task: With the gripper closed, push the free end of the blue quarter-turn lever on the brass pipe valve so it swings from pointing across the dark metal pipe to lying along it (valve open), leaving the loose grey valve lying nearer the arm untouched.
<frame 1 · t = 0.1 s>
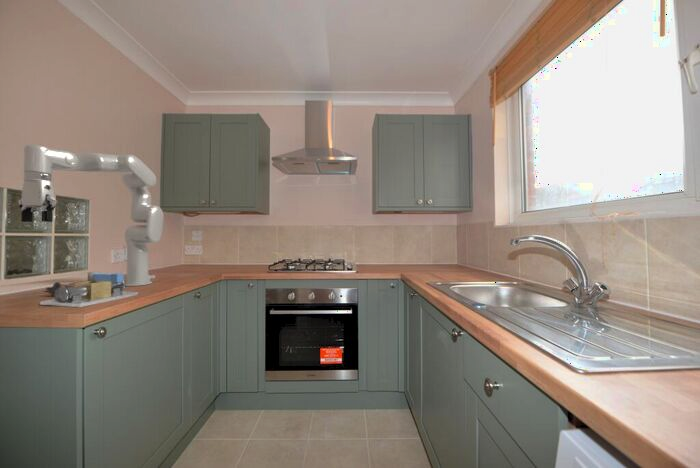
hand: (37, 221, 116), 31 cm above the countertop, tool pointing down, fingers open, 9 cm apart
valve: (68, 293, 137), on the countertop
pipe valve: (93, 299, 122), on the countertop
lever: (105, 277, 121), point 9 cm above the countertop, hinge at 0.0°
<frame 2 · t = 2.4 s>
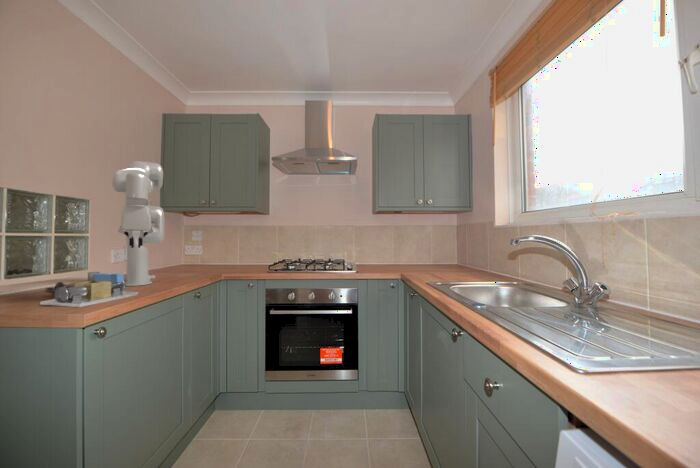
hand: (136, 247, 124), 21 cm above the countertop, tool pointing down, fingers closed
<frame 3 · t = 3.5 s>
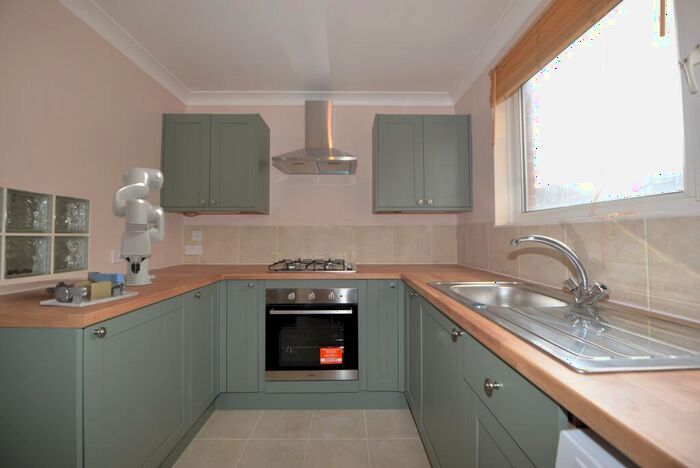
hand: (135, 273, 124), 11 cm above the countertop, tool pointing down, fingers closed
nothing on the countertop moved.
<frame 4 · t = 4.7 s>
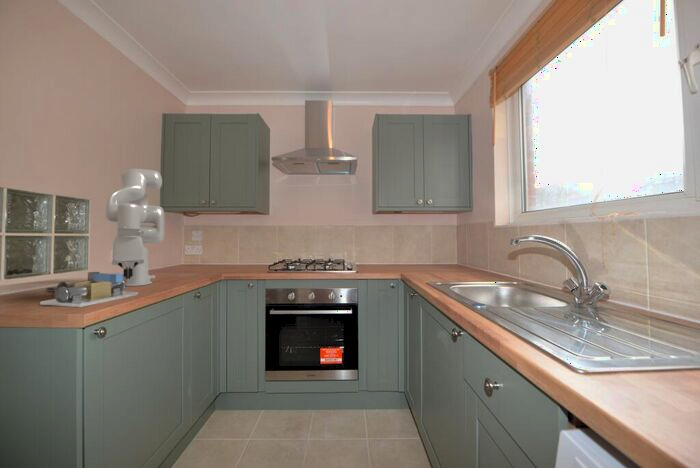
hand: (128, 278, 123), 8 cm above the countertop, tool pointing down, fingers closed
lever: (104, 277, 121), point 9 cm above the countertop, hinge at -1.6°, touching gripper
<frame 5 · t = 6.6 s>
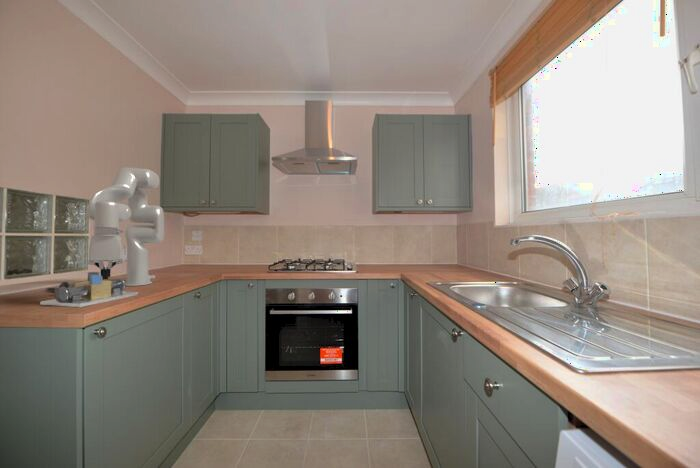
hand: (105, 279, 118), 9 cm above the countertop, tool pointing down, fingers closed
lever: (94, 277, 118), point 9 cm above the countertop, hinge at -34.7°, touching gripper
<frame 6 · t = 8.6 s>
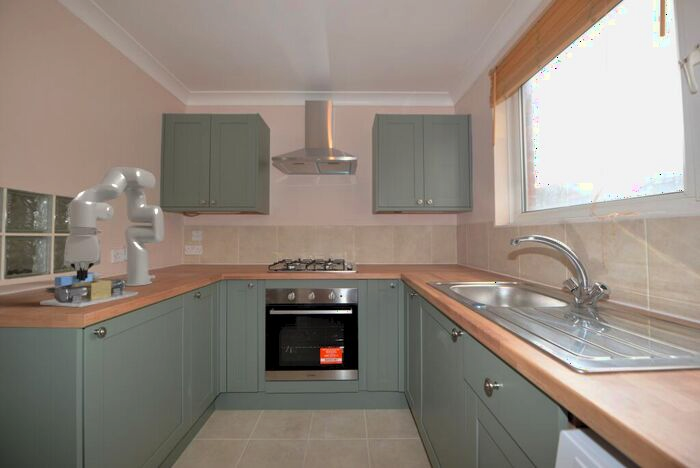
hand: (82, 280, 115), 9 cm above the countertop, tool pointing down, fingers closed
lever: (79, 278, 117), point 9 cm above the countertop, hinge at -88.1°, touching gripper
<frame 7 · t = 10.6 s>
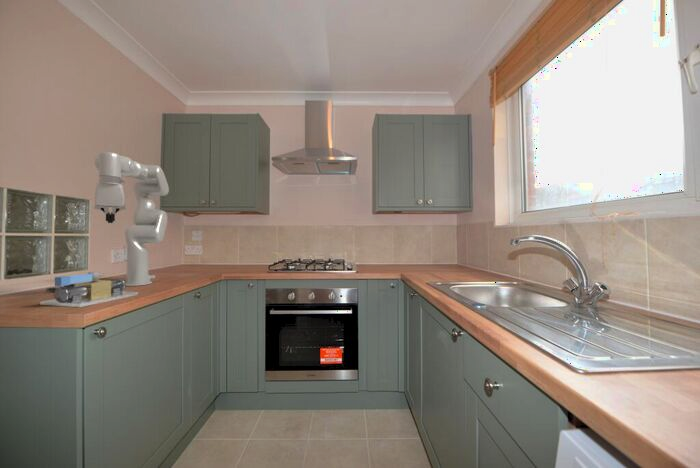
hand: (110, 222, 132), 32 cm above the countertop, tool pointing down, fingers closed
lever: (79, 278, 117), point 9 cm above the countertop, hinge at -88.1°
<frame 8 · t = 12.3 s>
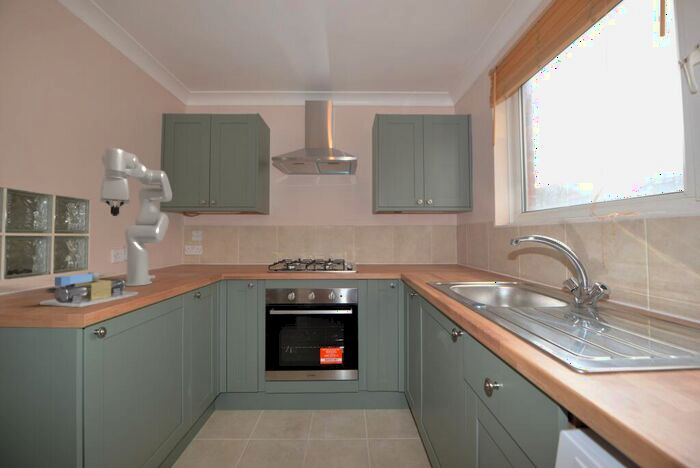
hand: (114, 215, 137), 35 cm above the countertop, tool pointing down, fingers closed
at the end: lever at -88° (first picture: +0°) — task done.
